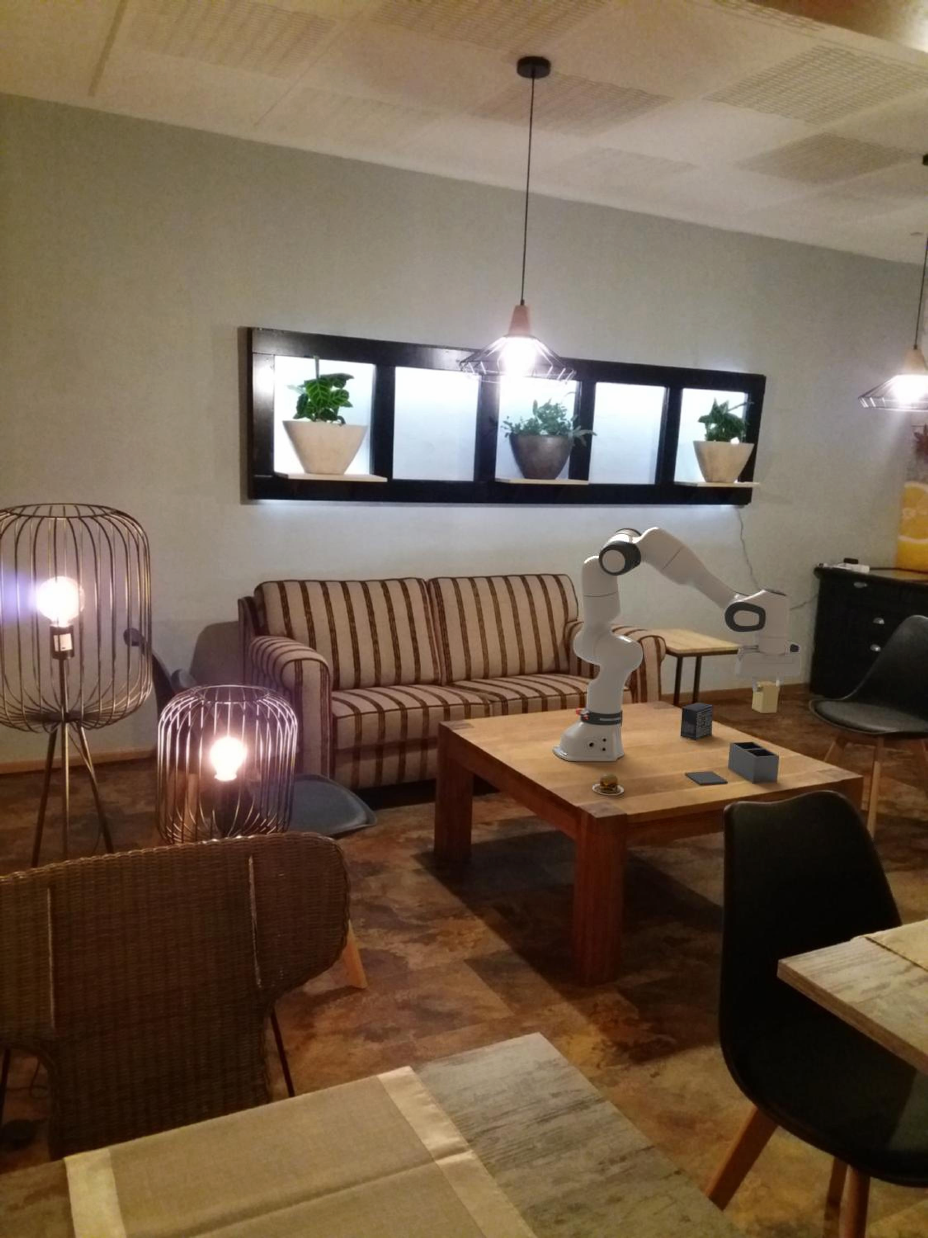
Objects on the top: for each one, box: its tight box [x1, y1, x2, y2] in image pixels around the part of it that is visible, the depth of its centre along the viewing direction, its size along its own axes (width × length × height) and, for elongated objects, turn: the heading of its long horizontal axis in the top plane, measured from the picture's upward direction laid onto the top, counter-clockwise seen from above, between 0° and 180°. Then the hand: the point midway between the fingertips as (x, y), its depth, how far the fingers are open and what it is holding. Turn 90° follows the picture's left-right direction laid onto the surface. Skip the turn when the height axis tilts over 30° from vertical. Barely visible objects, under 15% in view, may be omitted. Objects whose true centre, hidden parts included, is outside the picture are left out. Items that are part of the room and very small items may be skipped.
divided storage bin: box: [727, 741, 780, 784], centre depth 285 cm, size 8×14×8 cm, turn 15°
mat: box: [684, 770, 728, 786], centre depth 281 cm, size 9×9×1 cm
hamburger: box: [591, 773, 625, 796], centre depth 268 cm, size 12×12×6 cm
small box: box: [680, 701, 714, 741], centre depth 324 cm, size 11×6×10 cm, turn 134°
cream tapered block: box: [751, 680, 780, 714], centre depth 278 cm, size 5×5×8 cm
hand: (765, 691), depth 278 cm, fingers closed on cream tapered block, 5 cm apart
